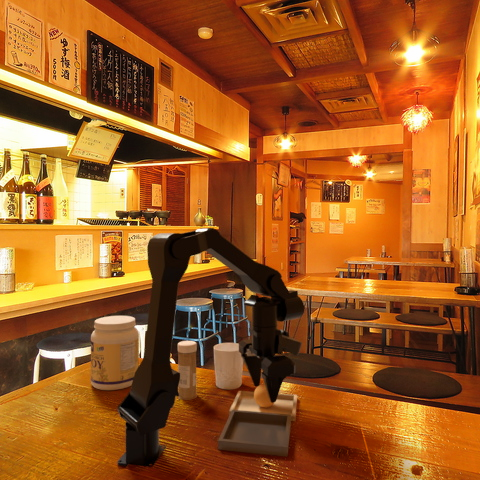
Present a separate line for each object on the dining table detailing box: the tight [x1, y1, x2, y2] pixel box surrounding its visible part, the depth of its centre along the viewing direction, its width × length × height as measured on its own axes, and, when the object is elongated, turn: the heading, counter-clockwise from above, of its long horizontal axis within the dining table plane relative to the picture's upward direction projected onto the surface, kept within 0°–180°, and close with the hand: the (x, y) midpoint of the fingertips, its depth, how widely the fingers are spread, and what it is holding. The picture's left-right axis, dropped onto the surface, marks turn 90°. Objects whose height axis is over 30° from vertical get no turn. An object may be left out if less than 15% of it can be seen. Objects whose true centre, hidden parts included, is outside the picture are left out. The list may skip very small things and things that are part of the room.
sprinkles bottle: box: [177, 340, 198, 401], centre depth 92 cm, size 5×5×14 cm
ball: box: [253, 383, 274, 408], centre depth 86 cm, size 5×5×5 cm
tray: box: [228, 390, 298, 422], centre depth 86 cm, size 11×14×2 cm
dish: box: [217, 410, 292, 457], centre depth 74 cm, size 12×12×2 cm
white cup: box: [213, 342, 244, 390], centre depth 101 cm, size 8×8×10 cm
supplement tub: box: [90, 315, 140, 391], centre depth 102 cm, size 12×12×17 cm
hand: (264, 393), depth 86 cm, fingers open, 9 cm apart
